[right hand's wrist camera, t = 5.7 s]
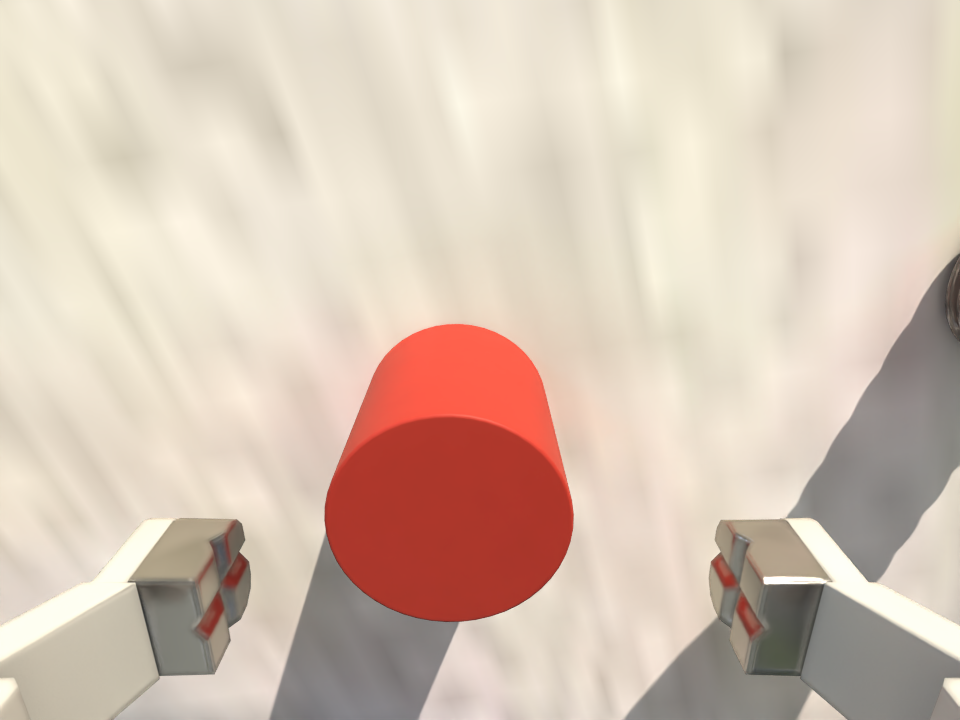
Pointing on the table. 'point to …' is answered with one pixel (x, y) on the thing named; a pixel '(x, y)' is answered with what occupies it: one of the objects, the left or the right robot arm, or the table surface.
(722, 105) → the table surface
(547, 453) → the canister
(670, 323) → the table surface
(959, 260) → the light bulb
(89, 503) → the table surface
